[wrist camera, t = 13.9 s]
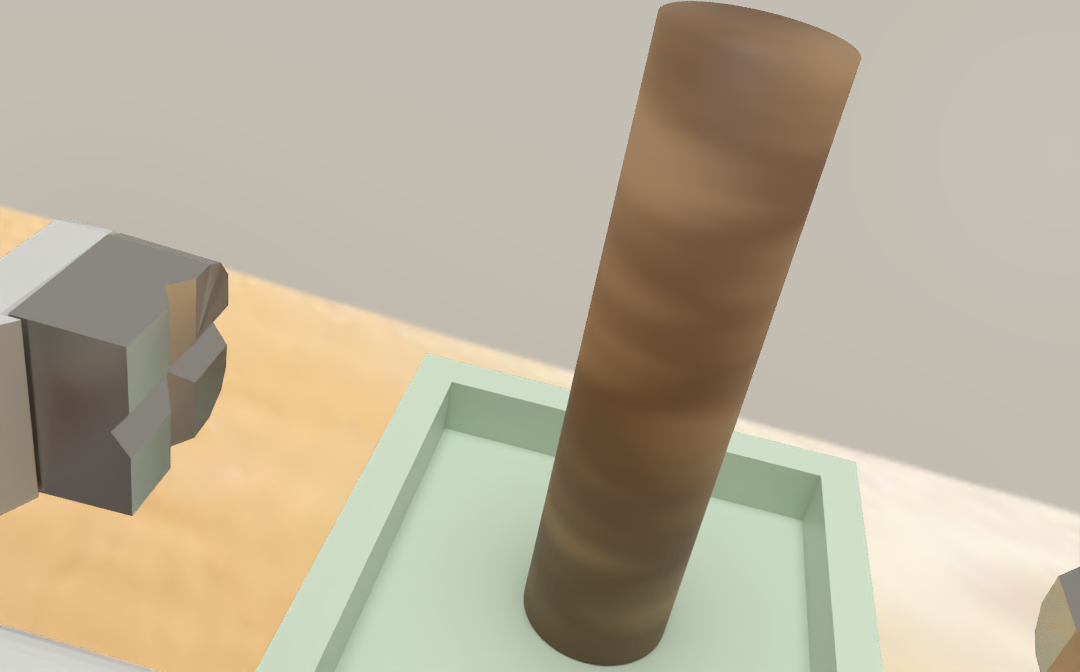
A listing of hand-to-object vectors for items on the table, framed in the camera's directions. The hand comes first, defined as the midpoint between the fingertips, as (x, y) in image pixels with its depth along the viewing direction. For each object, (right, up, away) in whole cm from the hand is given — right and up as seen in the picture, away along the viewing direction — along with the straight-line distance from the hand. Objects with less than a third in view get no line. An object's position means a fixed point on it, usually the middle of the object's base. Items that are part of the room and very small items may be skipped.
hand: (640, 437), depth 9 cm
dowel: (+1, -7, +19) cm, 20 cm away
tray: (+1, -7, +19) cm, 20 cm away
